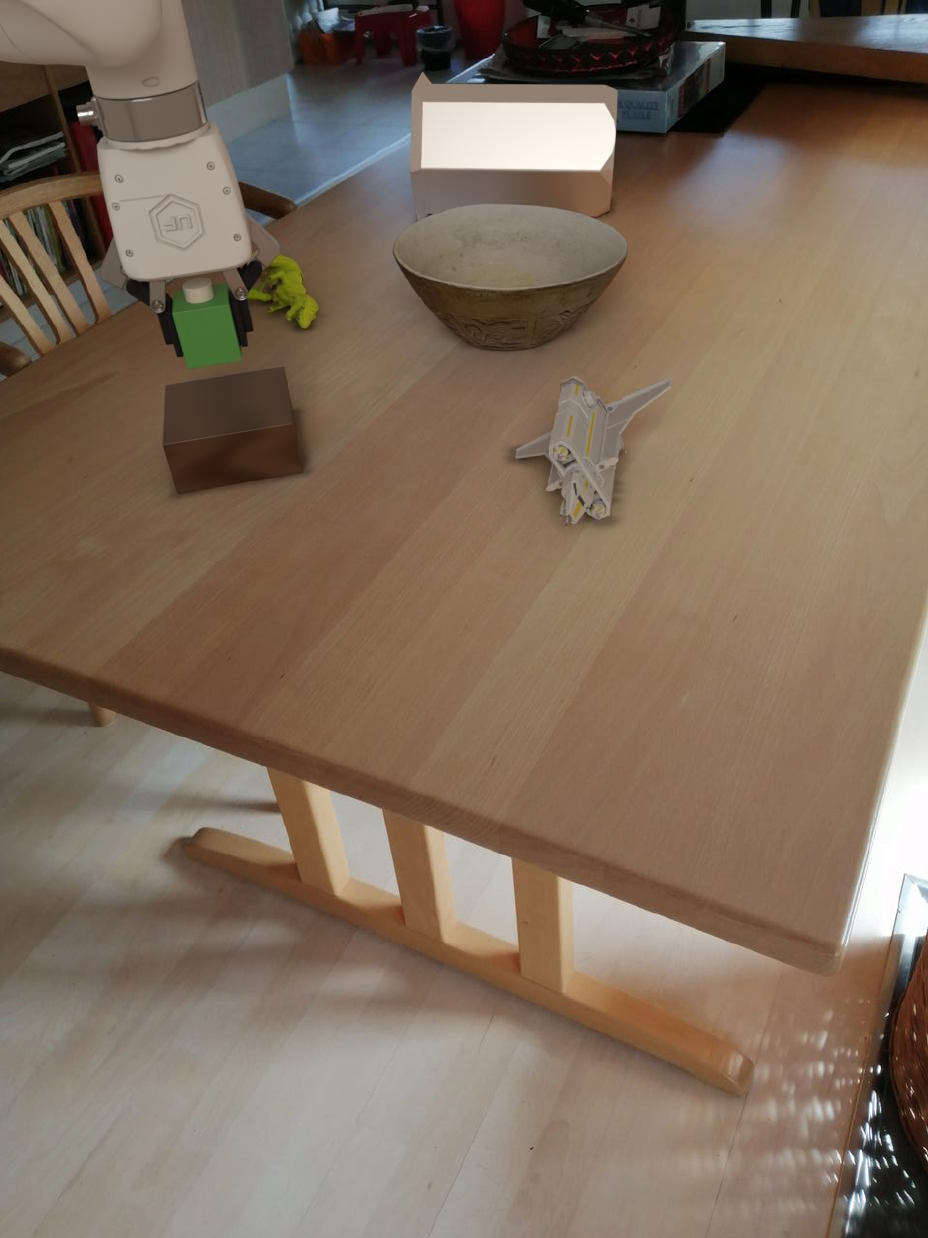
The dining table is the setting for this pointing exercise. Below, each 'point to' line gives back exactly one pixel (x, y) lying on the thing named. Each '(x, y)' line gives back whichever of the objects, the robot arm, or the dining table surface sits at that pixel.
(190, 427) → the walnut block
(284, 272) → the dinosaur figurine
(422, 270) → the bowl
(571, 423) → the toy spacecraft
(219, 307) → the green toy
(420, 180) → the white boxy piece
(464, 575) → the dining table surface
